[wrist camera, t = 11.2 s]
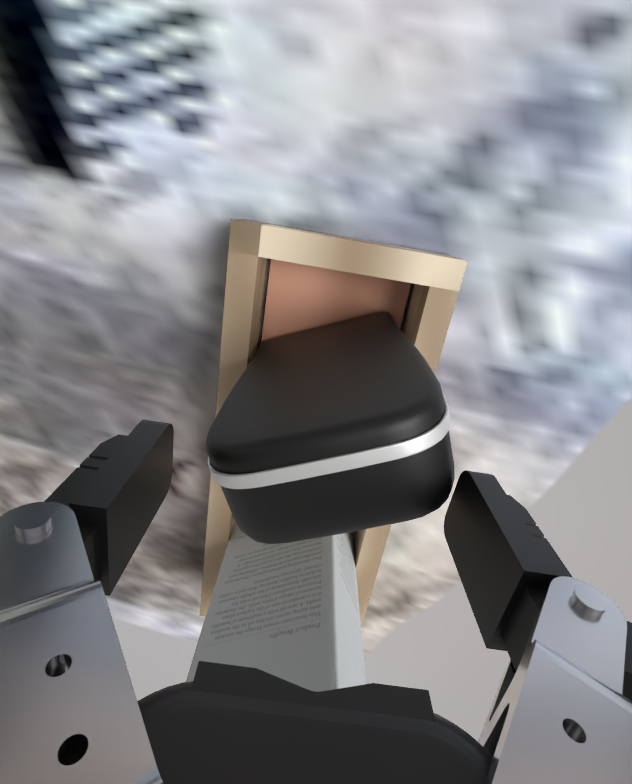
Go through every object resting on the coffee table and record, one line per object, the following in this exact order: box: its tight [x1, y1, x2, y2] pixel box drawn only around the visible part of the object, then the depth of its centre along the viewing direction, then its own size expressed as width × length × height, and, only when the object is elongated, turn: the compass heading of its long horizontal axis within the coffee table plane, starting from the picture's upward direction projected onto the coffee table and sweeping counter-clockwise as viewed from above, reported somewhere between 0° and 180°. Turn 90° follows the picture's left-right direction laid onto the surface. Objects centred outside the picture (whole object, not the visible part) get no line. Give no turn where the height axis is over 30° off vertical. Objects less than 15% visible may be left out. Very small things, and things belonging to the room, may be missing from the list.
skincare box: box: [186, 522, 366, 692], centre depth 20 cm, size 6×4×12 cm
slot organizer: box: [200, 219, 467, 627], centre depth 22 cm, size 9×22×3 cm, turn 171°
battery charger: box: [205, 311, 454, 544], centre depth 16 cm, size 7×4×11 cm, turn 105°
